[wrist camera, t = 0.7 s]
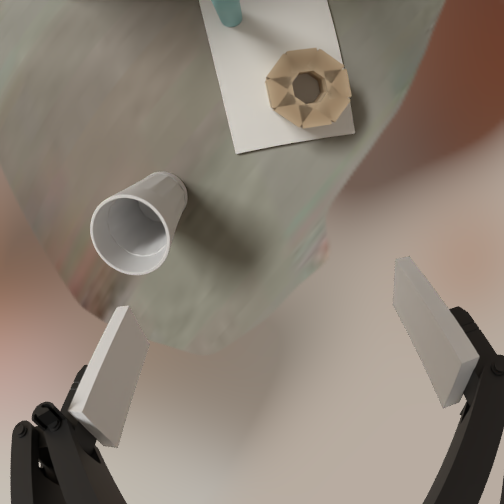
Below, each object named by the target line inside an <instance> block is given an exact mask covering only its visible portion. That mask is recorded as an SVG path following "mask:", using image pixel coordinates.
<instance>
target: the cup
mask: <svg viewBox="0 0 504 504" xmlns="http://www.w3.org/2000/svg"><path fill="white" fill-rule="evenodd" d="M187 200H188V195H187V190H186V187H185V185H184V184H183V182H182V181H181V180H180V179H179V178H178V177H177V176H175V175H174V174H172V173H169V172H155V173H152V174H150V175H149V176H147V177H146V178H145V179H143V180H141V181H139V182H137V183H135V184H133V185H132V186H130V187H128V188H126V189H124V190H123V191H121V192H119V193H117V194H115V195H113V196H111V197H109V198H107V199H106V200H104V201H103V202H102V203H101V204H100V205H99V206H98V207H97V208H96V210H95V212H94V214H93V216H92V220H91V226H90V232H91V238H92V242H93V245H94V247H95V249H96V251H97V252H98V254H99V255H100V257H101V258H102V259H103V260H104V261H105V262H106V263H107V264H108V265H109V266H111V267H112V268H114V269H116V270H118V271H120V272H122V273H125V274H130V275H143V274H147V273H150V272H152V271H154V270H156V269H157V268H159V267H160V266H161V265H162V264H163V262H164V261H165V259H166V258H167V256H168V253H169V250H170V247H171V244H172V241H173V238H174V234H175V230H176V227H177V225H178V222H179V219H180V217H181V214H182V212H183V211H184V209H185V207H186V204H187Z"/></svg>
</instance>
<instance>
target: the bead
mask: <svg viewBox="0 0 504 504" xmlns="http://www.w3.org/2000/svg"><path fill="white" fill-rule="evenodd" d="M343 67H344V65H343V64H341V63H340V62H338V61H337V60H336V59H334V58H333V57H331V56H330V55H329V54H327V53H326V52H324V51H323V50H321V49H319V50H317V48H308V49H300V50H292V51H287V52H286V53H285V54H284V53H283V54H282V56H281V57H280V59H279V60H278V61H277V63H276V64H275V65H274V67H273V68H272V70H271V71H270V72H269V74H268V75H267V77H266V81H265V85H266V89H267V94H268V98H269V103H270V107H271V108H273V111H275V112H276V113H278V114H279V115H281V116H282V117H284V118H285V119H287V120H288V121H290V122H291V123H293V124H294V125H296V126H298V127H299V128H300V127H301V128H310V127H316V126H323V125H330V124H332V122H336V120H337V119H338V117H339V116H340V115H341V113H342V112H343V111H344V109H345V108H346V106H347V105H348V104H349V102H350V101H351V100H350V99H349V98H348V97H352V95H351V90H350V84H349V79H348V74H347V69H343ZM301 74H309V75H310V76H311V77H313V78H314V79H316V80H317V81H318V85H319V90H320V93H319V95H318V96H317V98H316V99H315V100H314V102H311V103H304V102H302V101H301V100H299V99H298V98H296V97H295V96H294V91H293V86H292V82H293V81H294V79H295V78H296V77H297V75H301ZM331 121H332V122H331Z"/></svg>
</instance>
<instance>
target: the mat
mask: <svg viewBox="0 0 504 504" xmlns="http://www.w3.org/2000/svg"><path fill="white" fill-rule="evenodd" d="M199 3H200V7H201V11H202V15H203V19H204V23H205V27H206V32H207V36H208V40H209V44H210V48H211V52H212V56H213V60H214V64H215V68H216V73H217V77H218V81H219V85H220V89H221V93H222V98H223V102H224V106H225V110H226V114H227V118H228V123H229V127H230V131H231V135H232V139H233V144H234V148H235V152H236V154H239V153H243V152H248V151H253V150H258V149H263V148H268V147H273V146H278V145H284V144H289V143H295V142H301V141H307V140H313V139H320V138H326V137H333V136H340V135H347V134H355V129H354V122H353V116H352V110H351V104H350V102H349V104H348V105H347V106H346V108H345V109H344V111H343V112H342V113H341V115H340V116H339V117H338V119H337V120H336V122H332V121H331V122H332V124H330V125H323V126H316V127H310V128H301V127H300V128H299V127H298V126H296V125H294V124H293V123H291V122H290V121H288V120H287V119H285V118H284V117H282V116H281V115H279V114H278V113H276V112H275V111H273V108H271V107H270V103H269V98H268V94H267V89H266V85H265V81H266V77H267V75H268V74H269V72H270V71H271V70H272V68H273V67H274V65H275V64H276V63H277V61H278V60H279V59H280V57H281V56H282V54H283V53H284V54H285V53H286V52H287V51H292V50H300V49H308V48H317V50H319V49H321V50H323V51H324V52H326V53H327V54H329V55H330V56H331V57H333V58H334V59H336V60H337V61H338V62H340V63H341V64H343V63H342V58H341V54H340V49H339V45H338V41H337V36H336V32H335V28H334V24H333V21H332V17H331V13H330V10H329V6H328V2H327V0H240V6H241V12H242V21H241V23H240V24H239V25H237V26H235V27H227V26H225V25H223V24H222V22H221V20H220V18H219V16H218V14H217V12H216V10H215V7H214V5H213V3H212V1H211V0H199ZM343 69H344V67H343ZM292 86H293V91H294V96H295V97H296V98H298V99H299V100H301V101H302V102H304V103H311V102H314V100H315V99H316V98H317V96H318V95H319V93H320V90H319V85H318V81H317V80H316V79H314V78H313V77H311V76H310V75H309V74H301V75H297V77H296V78H295V79H294V81H293V82H292ZM348 98H349V97H348ZM349 99H350V98H349Z"/></svg>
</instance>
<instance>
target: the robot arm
mask: <svg viewBox="0 0 504 504" xmlns="http://www.w3.org/2000/svg"><path fill="white" fill-rule="evenodd" d="M393 306H394V308H395V310H396V312H397V313H398V315H399V317H400V319H401V321H402V323H403V325H404V327H405V329H406V331H407V333H408V335H409V337H410V338H411V340H412V343H413V345H414V347H415V348H416V351H417V353H418V355H419V357H420V359H421V361H422V363H423V365H424V367H425V369H426V372H427V374H428V376H429V378H430V380H431V382H432V385H433V387H434V389H435V391H436V393H437V396H438V398H439V400H440V403H441V405H442V407H443V408H445V407H448V406H451V405H453V404H456V403H458V402H459V401H460V400H461V398H462V395H463V394H464V395H465V398H466V400H467V402H466V404H465V406H464V408H463V410H462V411H461V413H460V415H461V418H460V422H459V424H458V427H457V430H456V432H455V435H454V438H453V440H452V442H451V445H450V448H449V450H448V452H447V455H446V457H445V459H444V462H443V464H442V466H441V468H440V470H439V473H438V475H437V477H436V479H435V481H434V483H433V485H432V487H431V489H430V491H429V493H428V495H427V497H426V499H425V500H424V502H423V504H478V503H479V500H480V498H481V495H482V493H483V490H484V488H485V485H486V483H487V480H488V477H489V474H490V472H491V469H492V466H493V463H494V460H495V456H496V453H497V450H498V447H499V443H500V440H501V436H502V432H503V428H504V356H503V355H497V354H496V353H495V351H494V349H493V348H492V346H491V345H490V344H489V342H488V340H487V339H486V337H485V336H484V334H483V333H482V332H481V330H479V327H478V326H477V324H476V323H474V320H473V319H472V317H471V316H470V315H469V313H468V312H466V311H465V310H463V309H462V308H460V307H455V308H452V309H448V307H447V306H446V305H445V303H444V302H443V300H442V299H441V297H440V296H439V295H438V293H437V292H436V291H435V289H434V288H433V286H432V285H431V284H430V282H429V281H428V280H427V278H426V277H425V276H424V275H423V273H422V272H421V271H420V269H419V268H418V267H417V265H416V264H415V263H414V261H413V260H412V259H411V258H410V256H408V257H403V258H399V259H395V278H394V296H393ZM149 345H150V344H149V342H148V340H147V338H146V336H145V335H144V333H143V331H142V329H141V327H140V325H139V323H138V321H137V320H136V318H135V316H134V314H133V312H132V310H131V308H130V306H122V307H117V308H116V310H115V312H114V314H113V316H112V318H111V320H110V322H109V324H108V325H107V328H106V330H105V331H104V333H103V336H102V337H101V340H100V342H99V343H98V345H97V348H96V350H95V352H94V354H93V356H92V358H91V360H90V362H89V364H88V365H84V366H83V368H82V369H81V370H80V371H79V372H78V373H77V376H76V378H75V380H74V383H73V384H72V387H71V390H70V391H69V393H68V395H67V397H66V400H65V402H64V404H63V406H62V409H61V411H59V410H58V409H57V408H56V407H55V406H54V405H53V403H51V402H44V403H41V404H40V405H38V406H37V407H36V408H35V410H34V411H33V414H32V421H34V423H36V424H37V425H38V426H36V427H34V426H33V425H32V424H31V423H30V422H28V421H21V422H19V423H18V424H17V425H16V426H15V428H14V430H13V434H12V447H11V504H127V503H126V501H125V500H124V498H123V496H122V494H121V493H120V491H119V489H118V487H117V485H116V484H115V482H114V480H113V478H112V476H111V474H110V472H109V470H108V468H107V466H106V464H105V462H104V460H103V458H102V456H101V454H100V451H99V449H98V448H97V447H96V446H95V443H96V440H98V441H99V442H100V443H101V444H102V445H103V446H108V447H116V448H118V445H119V442H120V438H121V434H122V431H123V427H124V424H125V421H126V417H127V414H128V410H129V407H130V404H131V400H132V397H133V394H134V391H135V388H136V384H137V381H138V378H139V375H140V372H141V369H142V366H143V363H144V360H145V357H146V354H147V351H148V348H149ZM38 462H40V463H41V467H39V463H38ZM500 504H504V478H503V486H502V494H501V501H500Z"/></svg>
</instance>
